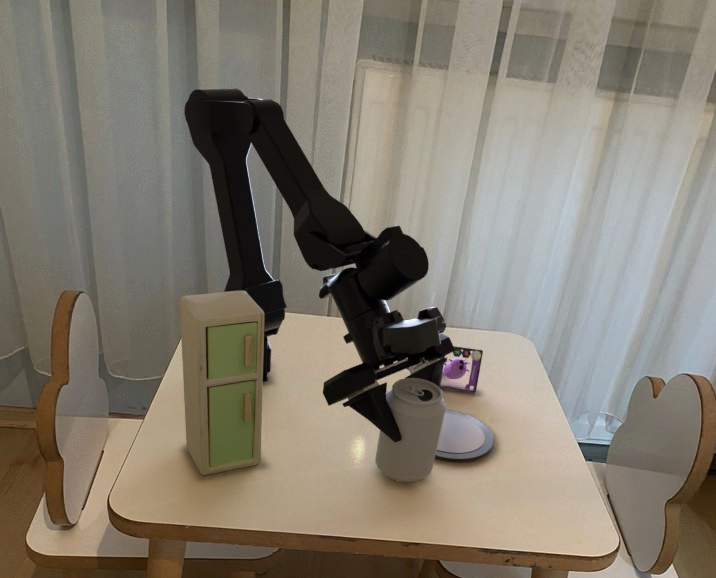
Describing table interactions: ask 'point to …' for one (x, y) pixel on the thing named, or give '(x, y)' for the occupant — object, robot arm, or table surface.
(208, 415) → the toy refrigerator
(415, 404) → the can
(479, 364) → the game card
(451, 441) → the coaster
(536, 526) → the table surface
